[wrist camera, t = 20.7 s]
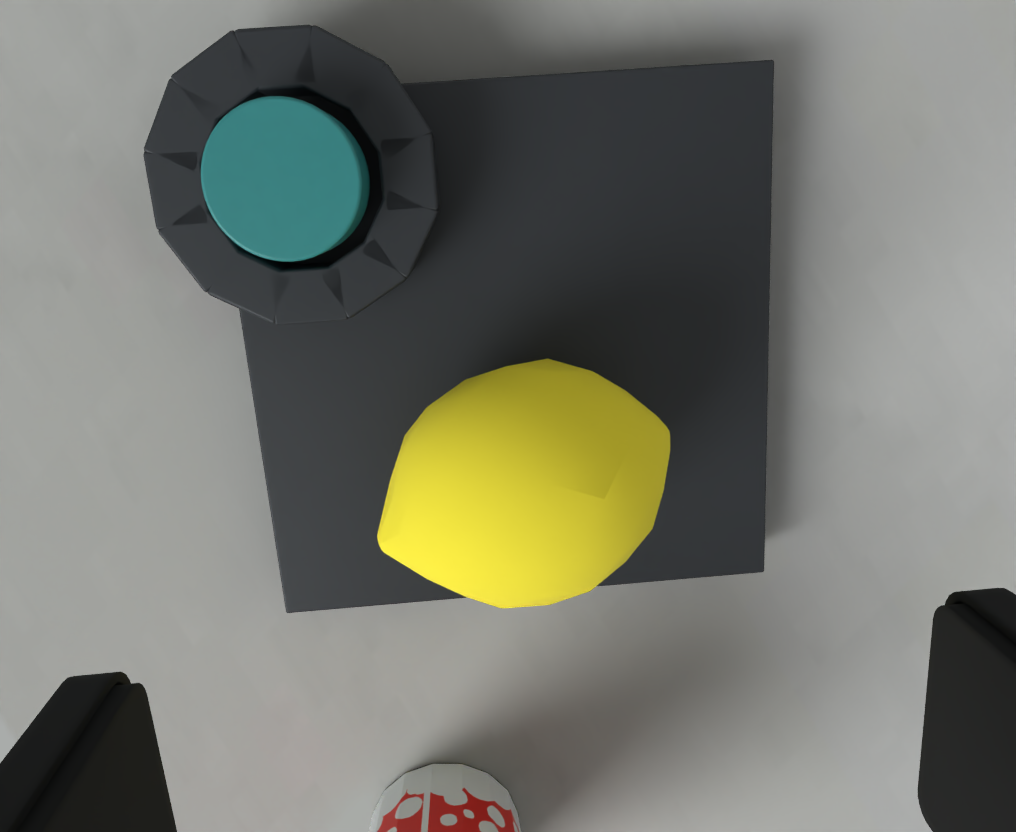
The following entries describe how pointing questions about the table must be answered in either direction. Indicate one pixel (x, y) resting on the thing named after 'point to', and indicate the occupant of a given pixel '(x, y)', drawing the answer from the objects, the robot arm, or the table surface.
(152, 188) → the scale
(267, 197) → the button
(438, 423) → the lemon
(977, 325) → the table surface
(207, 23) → the table surface
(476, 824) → the beverage cup
